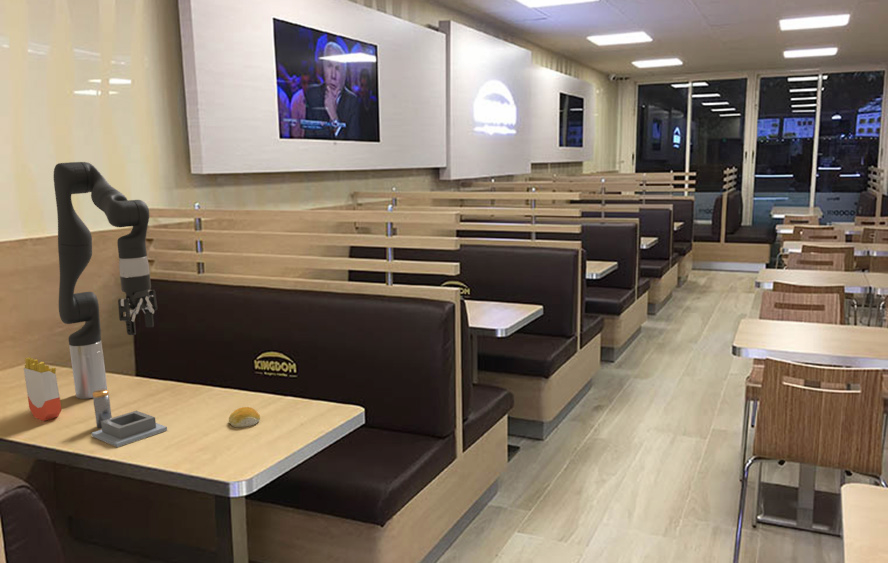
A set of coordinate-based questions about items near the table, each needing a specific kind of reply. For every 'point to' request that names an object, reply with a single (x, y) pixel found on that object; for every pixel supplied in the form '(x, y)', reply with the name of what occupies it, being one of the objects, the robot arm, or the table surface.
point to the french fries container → (42, 390)
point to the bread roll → (244, 417)
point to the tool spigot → (101, 406)
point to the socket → (128, 428)
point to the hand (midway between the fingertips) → (141, 330)
